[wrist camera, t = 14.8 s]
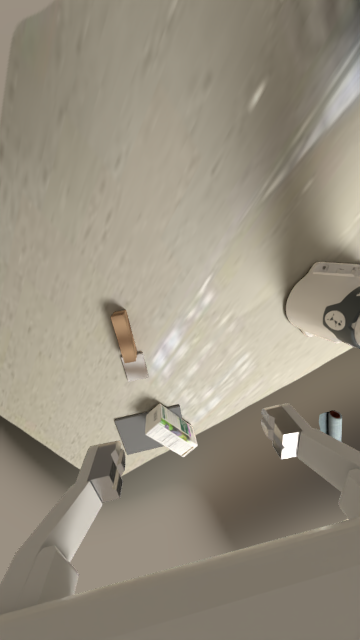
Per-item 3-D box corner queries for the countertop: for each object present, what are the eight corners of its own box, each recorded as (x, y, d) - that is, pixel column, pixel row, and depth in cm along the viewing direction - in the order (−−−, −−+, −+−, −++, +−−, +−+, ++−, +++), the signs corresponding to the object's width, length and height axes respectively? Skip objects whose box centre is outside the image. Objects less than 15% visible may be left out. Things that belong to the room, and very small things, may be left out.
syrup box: (159, 402, 46) (194, 426, 51) (144, 415, 47) (180, 437, 52) (160, 420, 41) (199, 445, 46) (143, 435, 41) (183, 458, 46)
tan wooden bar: (108, 312, 37) (104, 318, 33) (131, 308, 37) (129, 313, 34) (128, 379, 43) (126, 389, 40) (148, 375, 44) (148, 385, 40)
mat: (179, 404, 48) (179, 406, 47) (185, 438, 53) (186, 440, 52) (115, 419, 47) (114, 421, 46) (127, 452, 51) (127, 454, 51)
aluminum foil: (334, 448, 67) (343, 457, 64) (318, 454, 67) (326, 463, 64) (334, 408, 59) (345, 416, 56) (317, 415, 59) (326, 424, 56)
